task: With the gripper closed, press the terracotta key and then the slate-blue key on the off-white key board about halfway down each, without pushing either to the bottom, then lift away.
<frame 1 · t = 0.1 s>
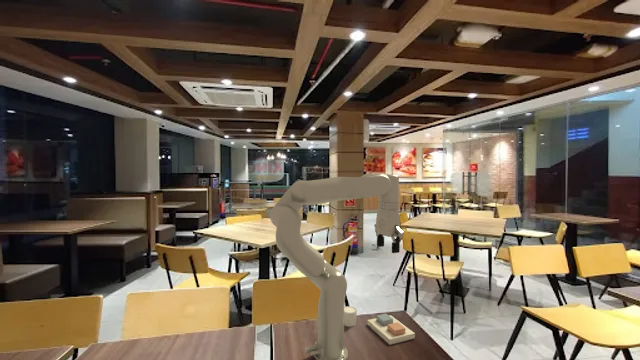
hand: (387, 249, 118), 37 cm above the table, tool pointing down, fingers open, 9 cm apart
shot glass: (348, 325, 131), on the table
key terracotta: (396, 329, 121), point 4 cm above the table, slide at 0.0 cm
key board: (390, 333, 125), on the table
key slate: (384, 319, 129), point 4 cm above the table, slide at 0.0 cm
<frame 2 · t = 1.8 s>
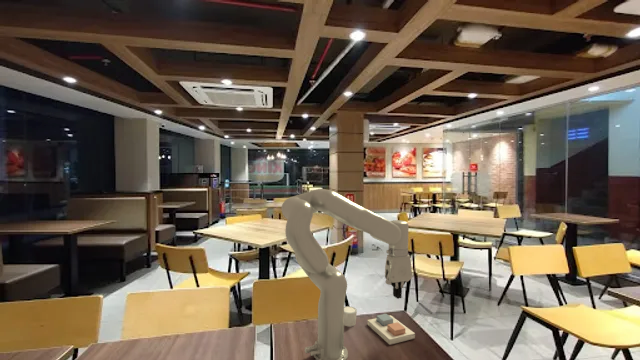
hand: (397, 297, 121), 17 cm above the table, tool pointing down, fingers closed
nothing on the table moved.
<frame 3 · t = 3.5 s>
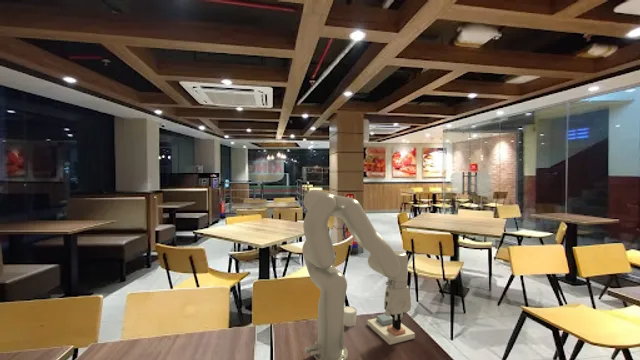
hand: (396, 327, 121), 4 cm above the table, tool pointing down, fingers closed
key terracotta: (396, 331, 121), point 3 cm above the table, slide at 0.7 cm, touching gripper
everything else where it was.
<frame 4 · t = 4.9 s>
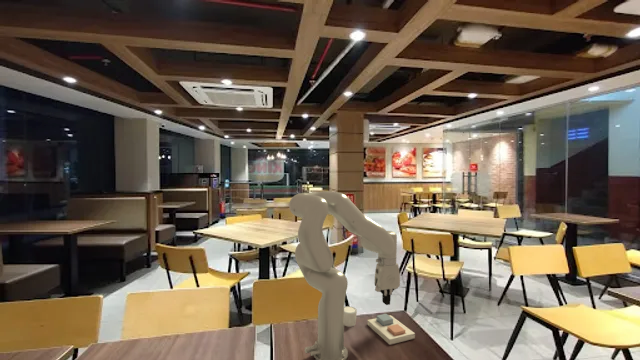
hand: (386, 303, 128), 11 cm above the table, tool pointing down, fingers closed
key terracotta: (396, 331, 121), point 3 cm above the table, slide at 0.8 cm
everything else where it was.
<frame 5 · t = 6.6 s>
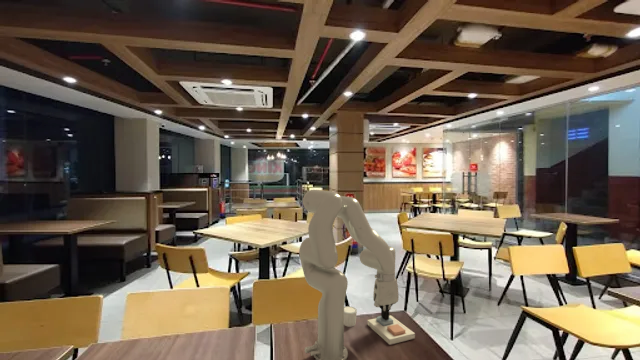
hand: (385, 318, 129), 4 cm above the table, tool pointing down, fingers closed
key slate: (384, 321, 129), point 3 cm above the table, slide at 0.6 cm, touching gripper
everything else where it was.
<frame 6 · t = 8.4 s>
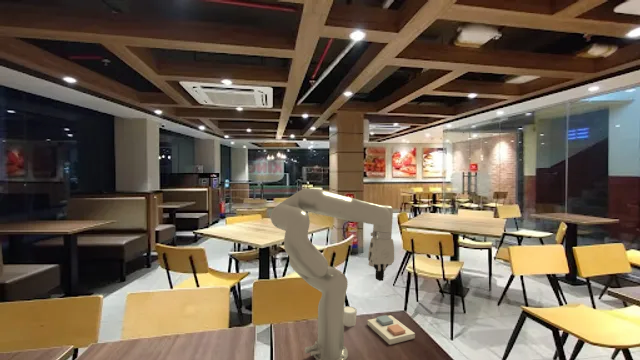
hand: (379, 279, 124), 23 cm above the table, tool pointing down, fingers closed
key slate: (384, 321, 129), point 3 cm above the table, slide at 0.7 cm
everything else where it was.
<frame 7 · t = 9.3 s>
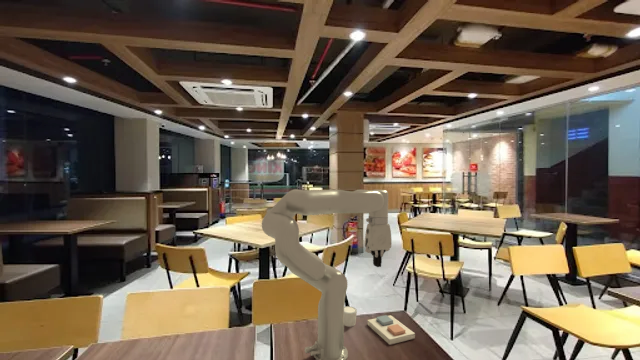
hand: (377, 265, 121), 29 cm above the table, tool pointing down, fingers closed
nothing on the table moved.
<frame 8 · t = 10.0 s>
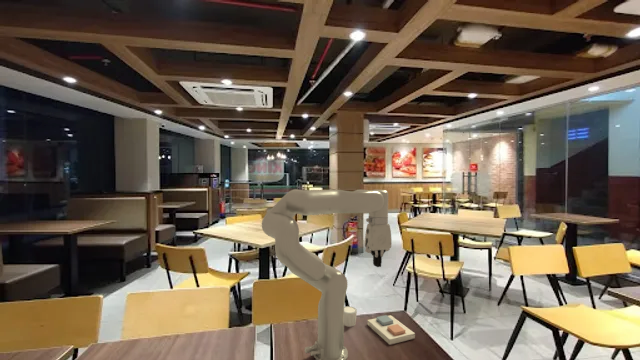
hand: (377, 265, 121), 29 cm above the table, tool pointing down, fingers closed
nothing on the table moved.
at the end: key terracotta slide at 0.8 cm; key slate slide at 0.7 cm; shot glass moved 0.2 cm from its start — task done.
